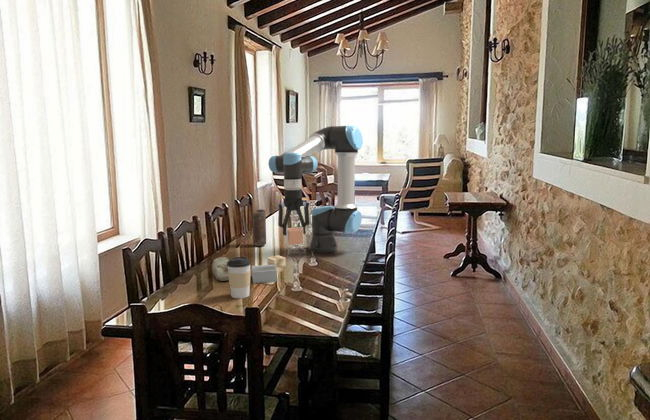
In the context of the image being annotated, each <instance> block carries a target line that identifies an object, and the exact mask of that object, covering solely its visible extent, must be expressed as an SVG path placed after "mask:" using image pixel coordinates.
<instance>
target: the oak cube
mask: <svg viewBox="0 0 650 420" xmlns="http://www.w3.org/2000/svg"><path fill="white" fill-rule="evenodd" d="M266 259H267V260H266V261H267V264H266V265H274V264H275V267H276V270H277V273H280V272H284V271H287V265H286V262H287V261H286V260H287V258H286V257H284V256H281V255H272V256H268V257H267V258H266Z"/></svg>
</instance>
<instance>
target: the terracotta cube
mask: <svg viewBox="0 0 650 420" xmlns="http://www.w3.org/2000/svg"><path fill="white" fill-rule="evenodd" d="M287 228H288V241H289V243H287V244H288V245H291V246H292V245H302V244H304V242H303V240H304V234H303V230H302V229H300V226H299V227H287Z"/></svg>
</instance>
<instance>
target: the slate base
mask: <svg viewBox="0 0 650 420" xmlns="http://www.w3.org/2000/svg"><path fill="white" fill-rule="evenodd" d="M251 278H252V283H253V284H259V283H260V284H261V283H273V282H274V283H275V282H278V272H277V270H276V267H275V264H274V265H268V264H265V265H263V264H262V265H251Z"/></svg>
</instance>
